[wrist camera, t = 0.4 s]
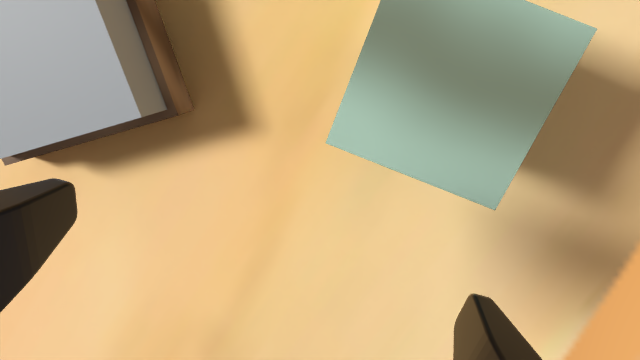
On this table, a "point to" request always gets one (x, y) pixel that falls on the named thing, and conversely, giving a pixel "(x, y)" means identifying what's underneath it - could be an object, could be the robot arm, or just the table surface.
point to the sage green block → (457, 90)
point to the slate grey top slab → (70, 71)
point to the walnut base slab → (163, 69)
